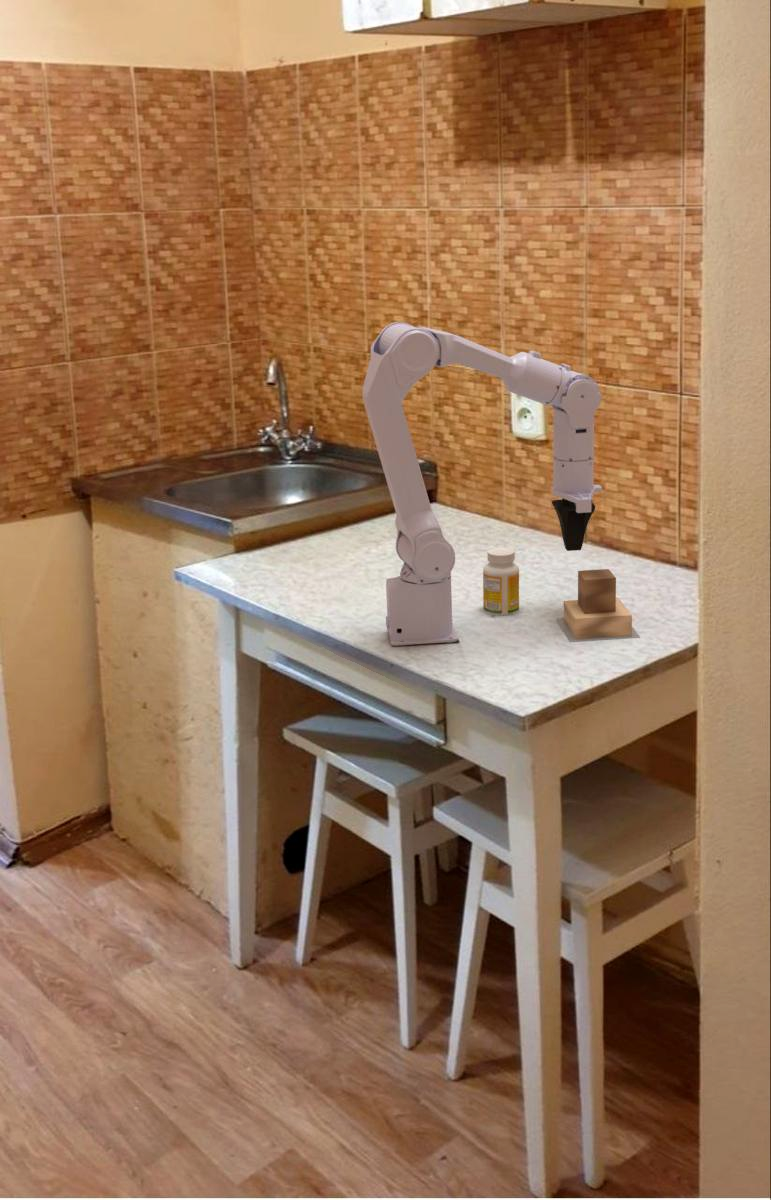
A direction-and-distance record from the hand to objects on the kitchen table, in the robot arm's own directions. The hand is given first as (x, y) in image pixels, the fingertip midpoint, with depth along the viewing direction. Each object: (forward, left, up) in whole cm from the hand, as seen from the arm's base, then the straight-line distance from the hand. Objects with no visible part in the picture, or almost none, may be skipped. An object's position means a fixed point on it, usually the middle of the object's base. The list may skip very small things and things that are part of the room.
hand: (573, 549), depth 188 cm
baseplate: (+2, -7, -10) cm, 13 cm away
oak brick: (+2, -7, -10) cm, 12 cm away
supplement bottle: (-10, +4, -11) cm, 15 cm away
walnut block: (+2, -7, -7) cm, 10 cm away
